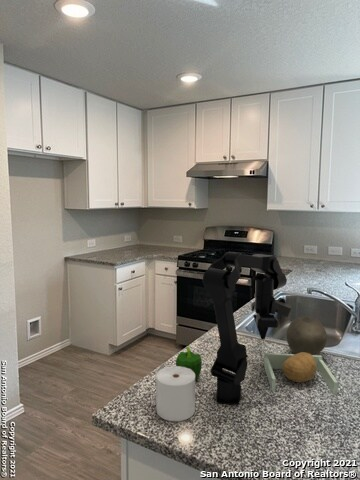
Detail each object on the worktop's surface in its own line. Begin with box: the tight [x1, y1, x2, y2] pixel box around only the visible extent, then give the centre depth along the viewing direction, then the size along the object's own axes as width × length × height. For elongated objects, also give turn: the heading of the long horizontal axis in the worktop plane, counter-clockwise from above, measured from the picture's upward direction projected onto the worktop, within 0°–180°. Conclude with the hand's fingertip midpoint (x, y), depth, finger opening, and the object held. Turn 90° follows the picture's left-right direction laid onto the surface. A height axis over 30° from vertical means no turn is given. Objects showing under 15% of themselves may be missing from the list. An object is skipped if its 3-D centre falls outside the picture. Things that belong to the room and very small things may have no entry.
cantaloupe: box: [286, 315, 328, 355], centre depth 127 cm, size 14×14×15 cm
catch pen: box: [263, 352, 339, 396], centre depth 110 cm, size 19×16×5 cm
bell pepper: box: [175, 346, 203, 382], centre depth 110 cm, size 8×8×10 cm
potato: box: [281, 352, 318, 383], centre depth 111 cm, size 10×14×8 cm
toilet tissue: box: [155, 362, 196, 422], centre depth 94 cm, size 11×12×10 cm
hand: (262, 338), depth 113 cm, fingers closed
